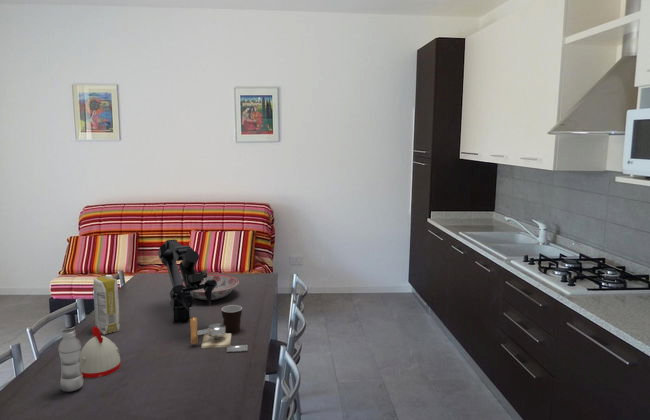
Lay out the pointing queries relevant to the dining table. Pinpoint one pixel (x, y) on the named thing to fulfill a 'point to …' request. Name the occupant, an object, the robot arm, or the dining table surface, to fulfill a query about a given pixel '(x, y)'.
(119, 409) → the dining table surface
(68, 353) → the plastic bottle
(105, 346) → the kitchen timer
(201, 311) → the dining table surface
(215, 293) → the ceramic bowl
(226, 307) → the coffee mug
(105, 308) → the juice carton
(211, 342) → the square beige tile
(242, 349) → the loose steel rod
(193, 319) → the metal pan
